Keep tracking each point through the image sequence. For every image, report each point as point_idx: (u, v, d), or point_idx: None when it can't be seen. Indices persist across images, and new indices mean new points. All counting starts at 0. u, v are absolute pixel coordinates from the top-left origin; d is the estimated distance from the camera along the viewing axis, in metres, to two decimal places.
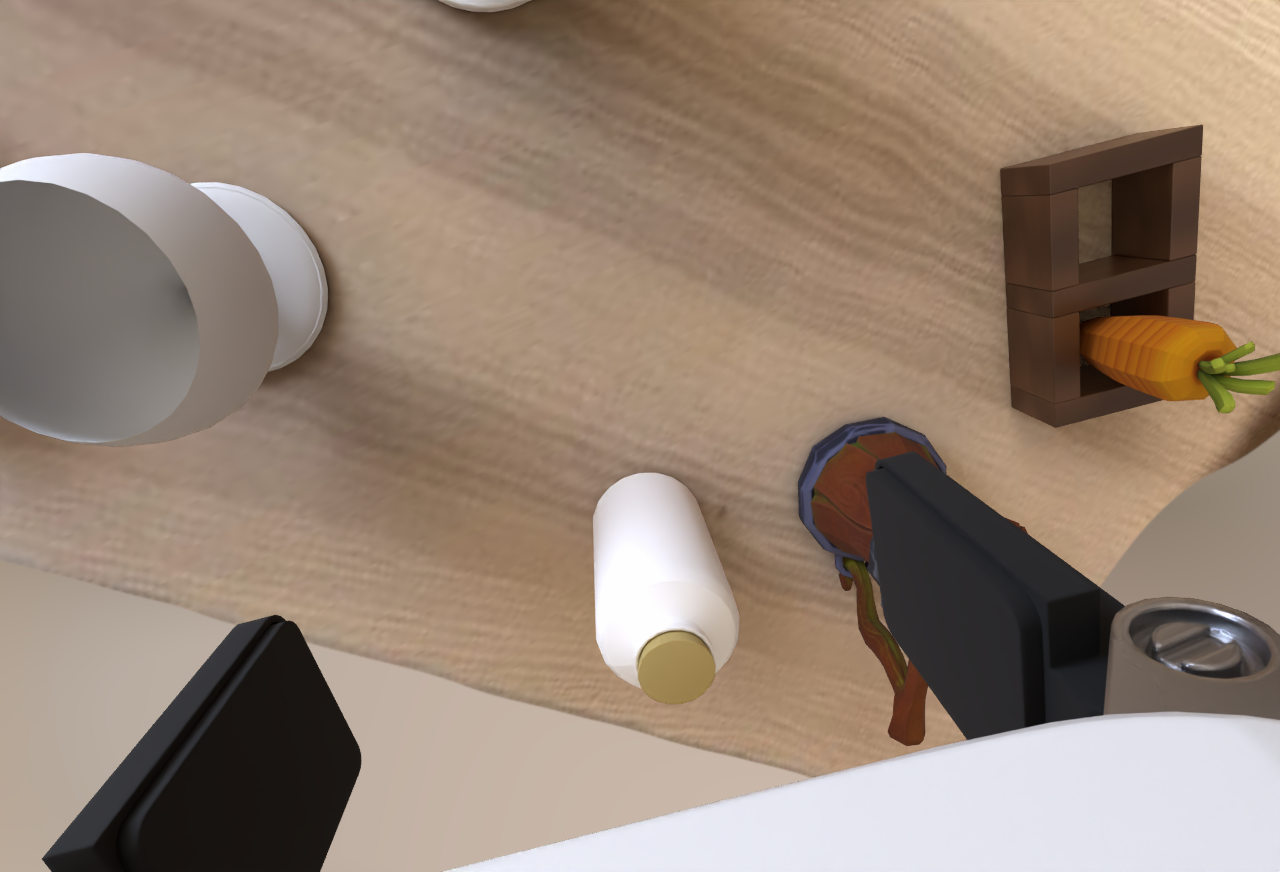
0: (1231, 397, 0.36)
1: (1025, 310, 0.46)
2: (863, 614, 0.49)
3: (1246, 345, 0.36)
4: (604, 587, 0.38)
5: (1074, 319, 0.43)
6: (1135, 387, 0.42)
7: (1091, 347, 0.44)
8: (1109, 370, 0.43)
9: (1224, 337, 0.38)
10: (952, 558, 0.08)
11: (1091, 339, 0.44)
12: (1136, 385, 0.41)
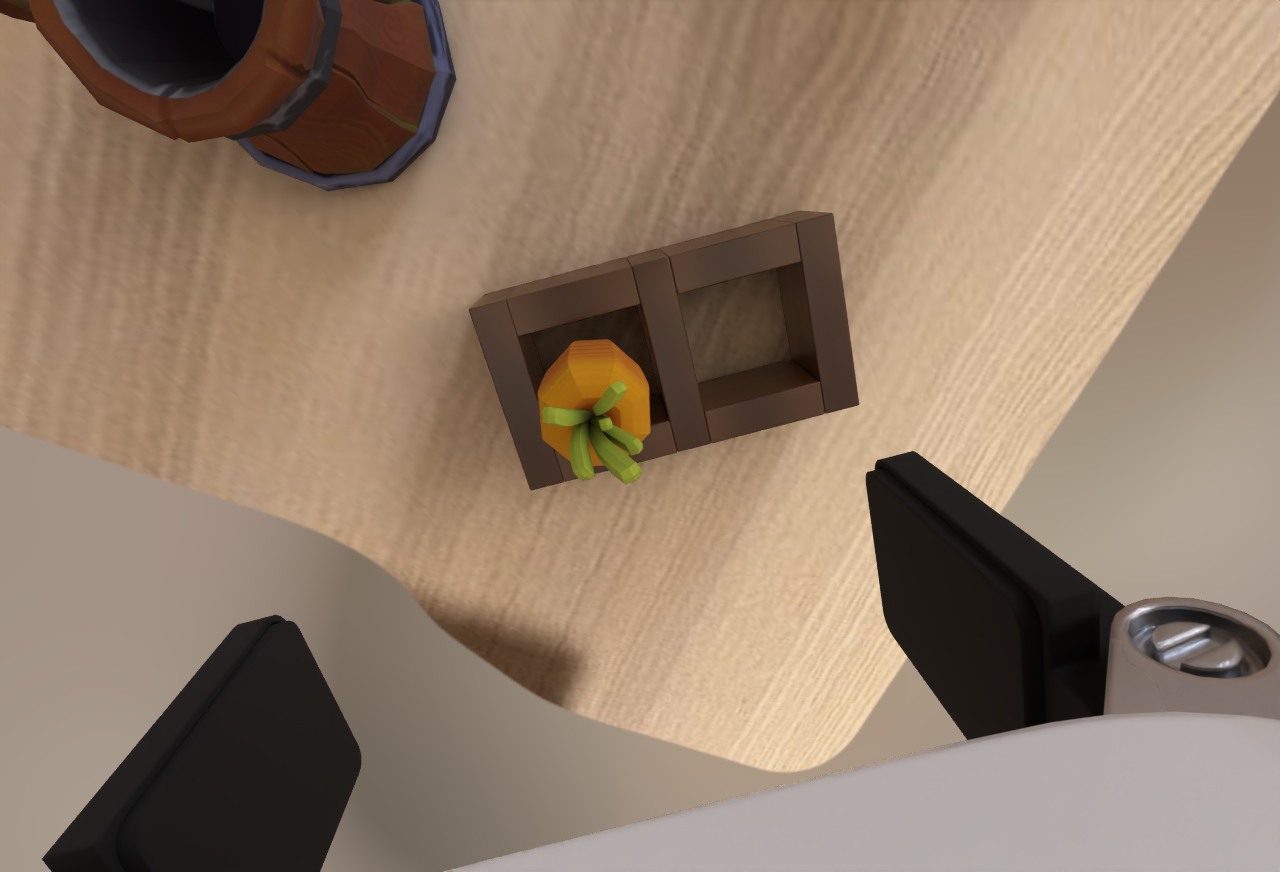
0: (567, 422, 0.23)
1: (630, 260, 0.33)
2: None
3: (638, 441, 0.25)
4: None
5: (630, 299, 0.31)
6: (546, 375, 0.29)
7: None
8: (563, 352, 0.30)
9: (637, 435, 0.27)
10: (952, 558, 0.08)
11: (599, 339, 0.32)
12: (550, 371, 0.28)
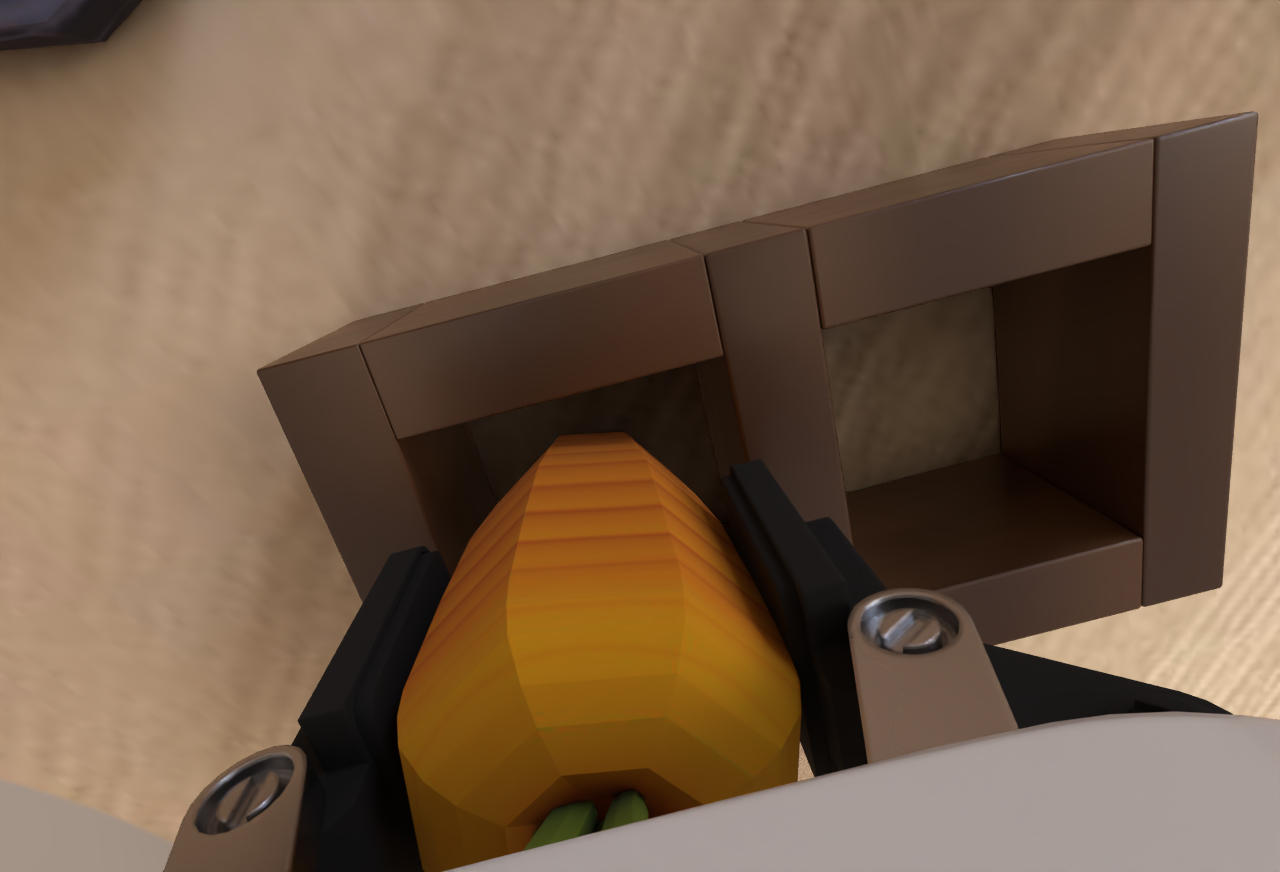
0: None
1: (685, 243, 0.14)
2: None
3: None
4: None
5: (697, 342, 0.11)
6: (454, 583, 0.09)
7: (586, 444, 0.12)
8: (515, 493, 0.11)
9: None
10: (757, 555, 0.09)
11: (611, 441, 0.13)
12: (465, 578, 0.09)
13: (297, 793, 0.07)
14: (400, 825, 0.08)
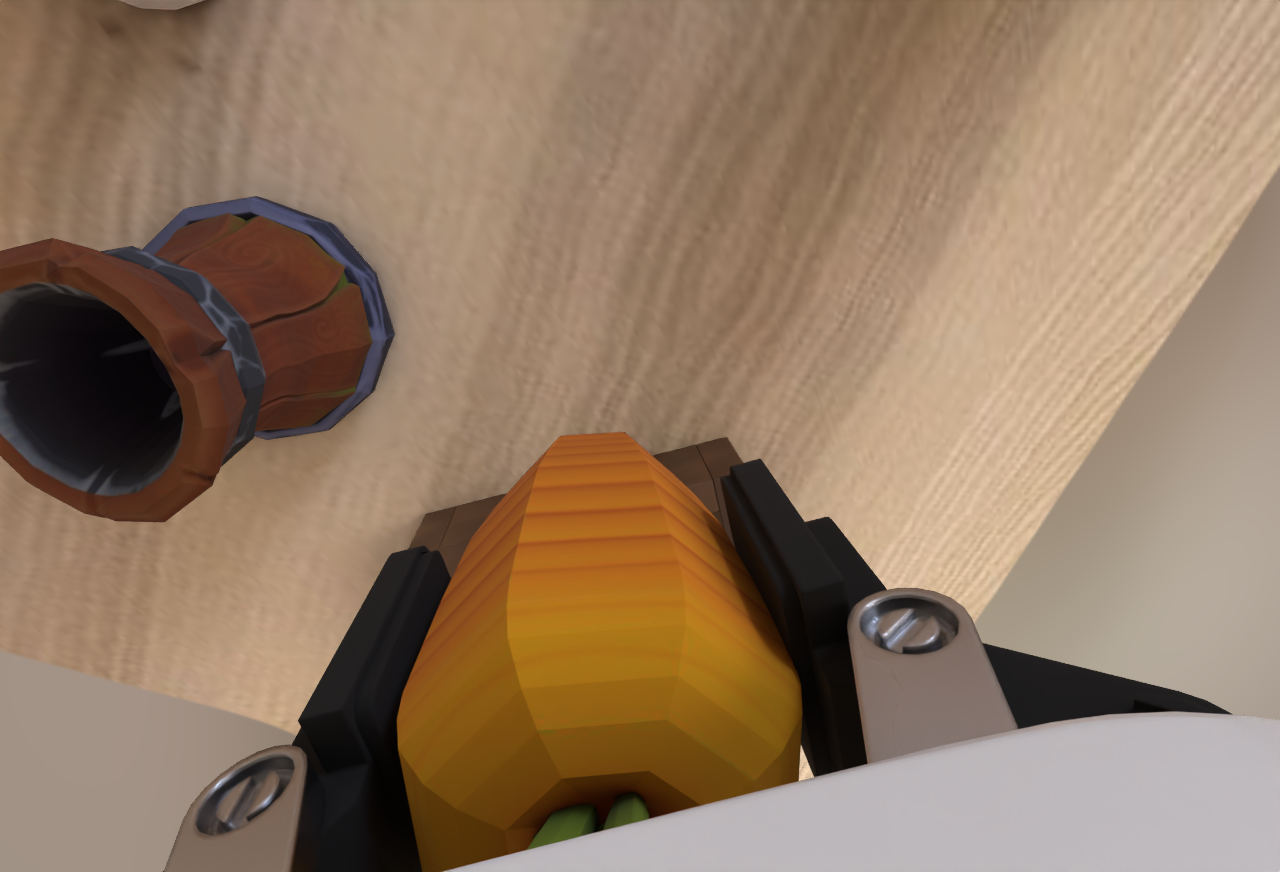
0: None
1: None
2: None
3: None
4: None
5: None
6: (454, 584, 0.09)
7: (586, 445, 0.12)
8: (515, 494, 0.11)
9: None
10: (757, 555, 0.09)
11: (611, 442, 0.13)
12: (465, 580, 0.09)
13: (298, 793, 0.07)
14: (400, 825, 0.08)
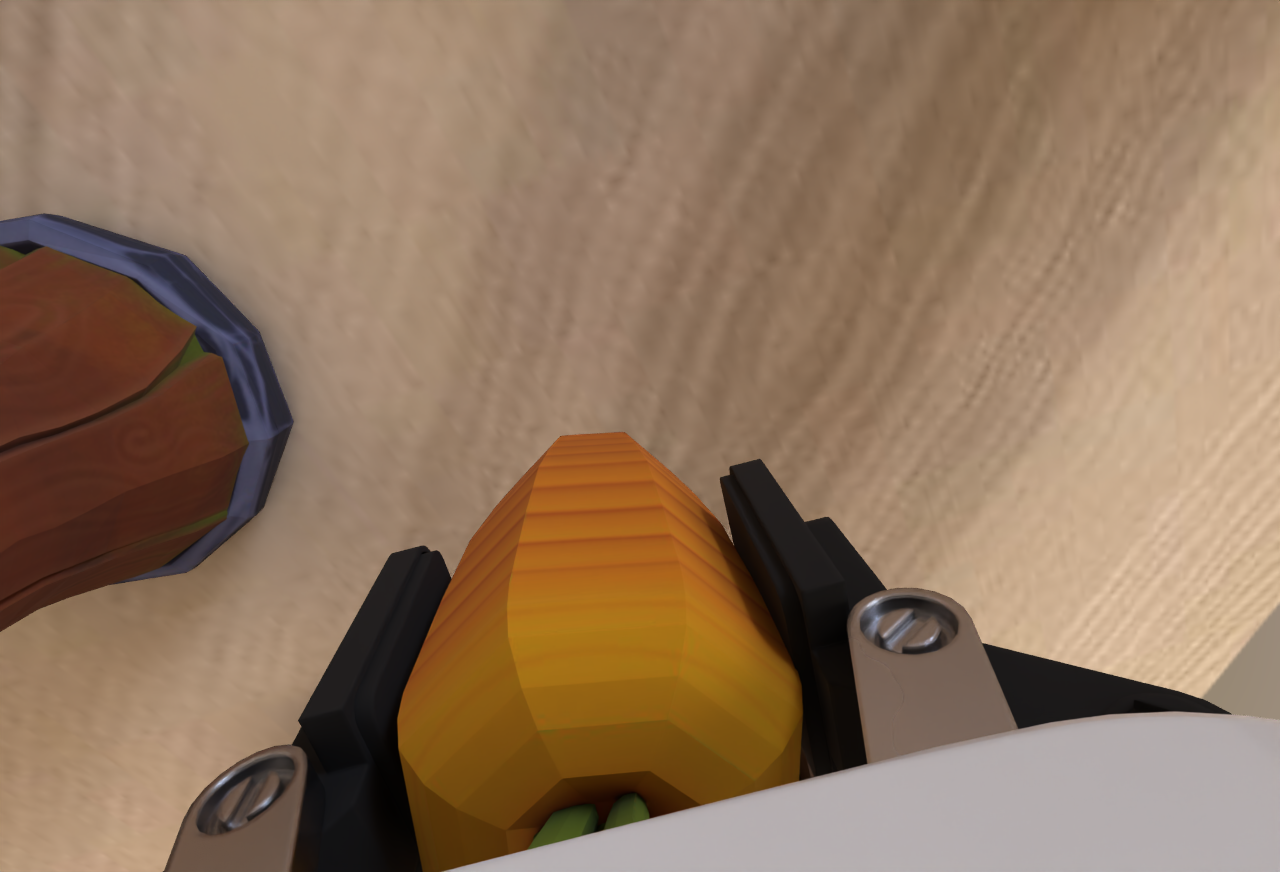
0: None
1: None
2: None
3: None
4: None
5: None
6: (455, 584, 0.09)
7: (586, 445, 0.12)
8: (515, 494, 0.11)
9: None
10: (756, 554, 0.09)
11: (611, 442, 0.13)
12: (465, 580, 0.09)
13: (297, 793, 0.07)
14: (400, 825, 0.08)
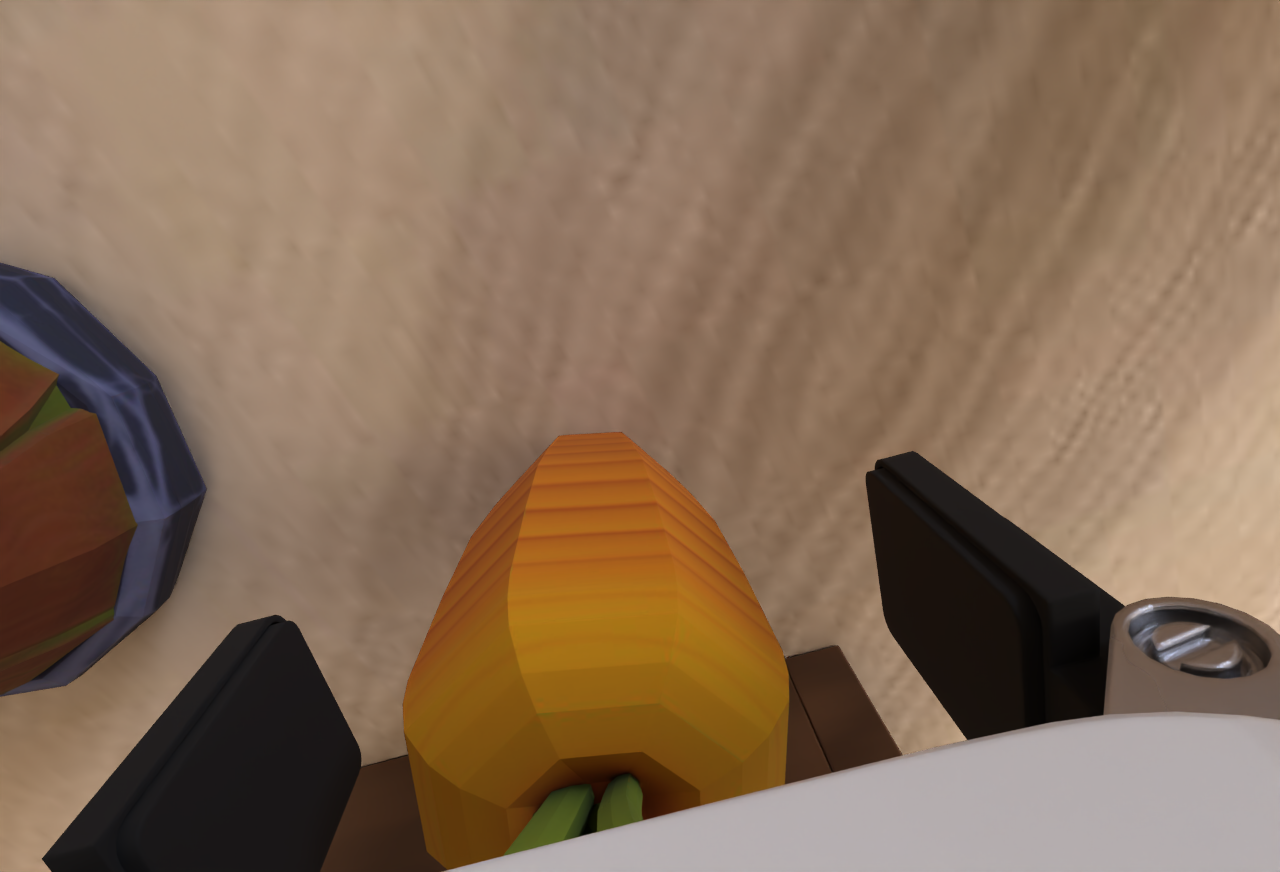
0: None
1: None
2: None
3: None
4: None
5: None
6: (457, 578, 0.10)
7: (584, 444, 0.13)
8: (515, 491, 0.11)
9: None
10: (952, 558, 0.08)
11: (609, 441, 0.13)
12: (467, 574, 0.09)
13: None
14: None
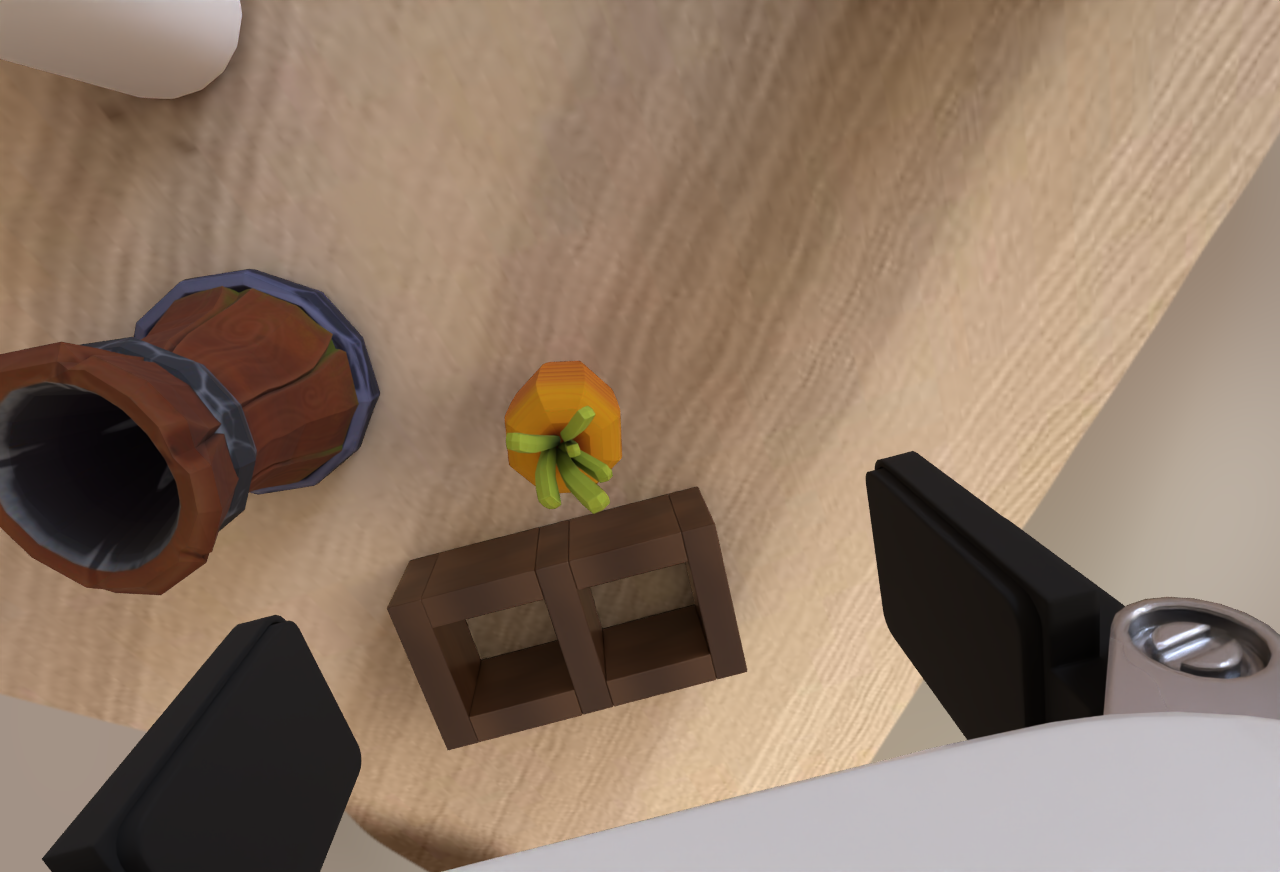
0: (532, 449, 0.22)
1: (539, 543, 0.36)
2: None
3: (607, 468, 0.24)
4: None
5: (534, 595, 0.34)
6: (514, 398, 0.28)
7: (561, 362, 0.31)
8: None
9: (607, 461, 0.26)
10: (952, 558, 0.08)
11: (571, 361, 0.31)
12: (519, 394, 0.28)
13: None
14: None
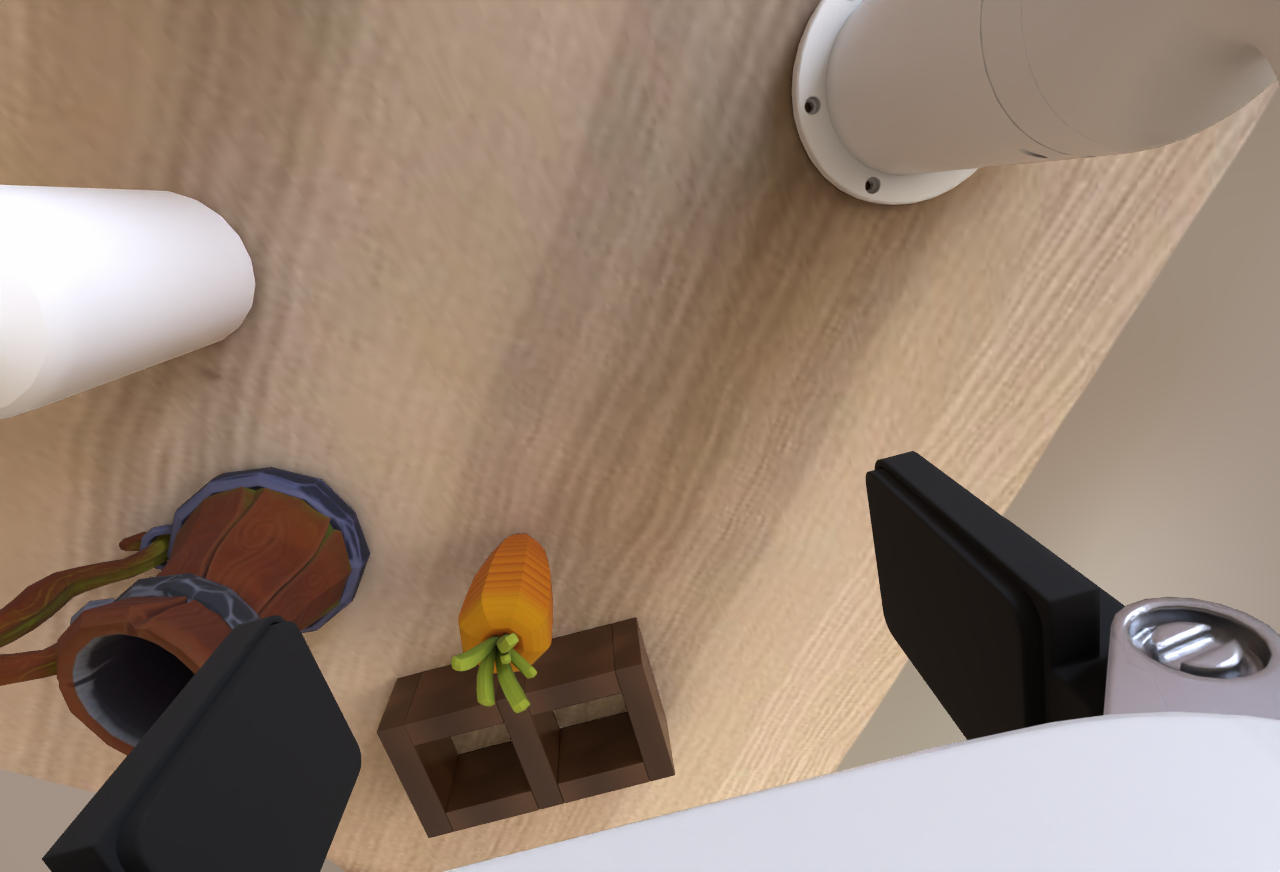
0: (471, 665, 0.30)
1: None
2: (78, 575, 0.36)
3: (532, 668, 0.32)
4: (11, 200, 0.23)
5: (496, 720, 0.42)
6: (470, 590, 0.36)
7: (511, 545, 0.39)
8: (487, 564, 0.37)
9: (537, 652, 0.33)
10: (953, 558, 0.08)
11: (520, 544, 0.39)
12: (472, 589, 0.35)
13: None
14: None
